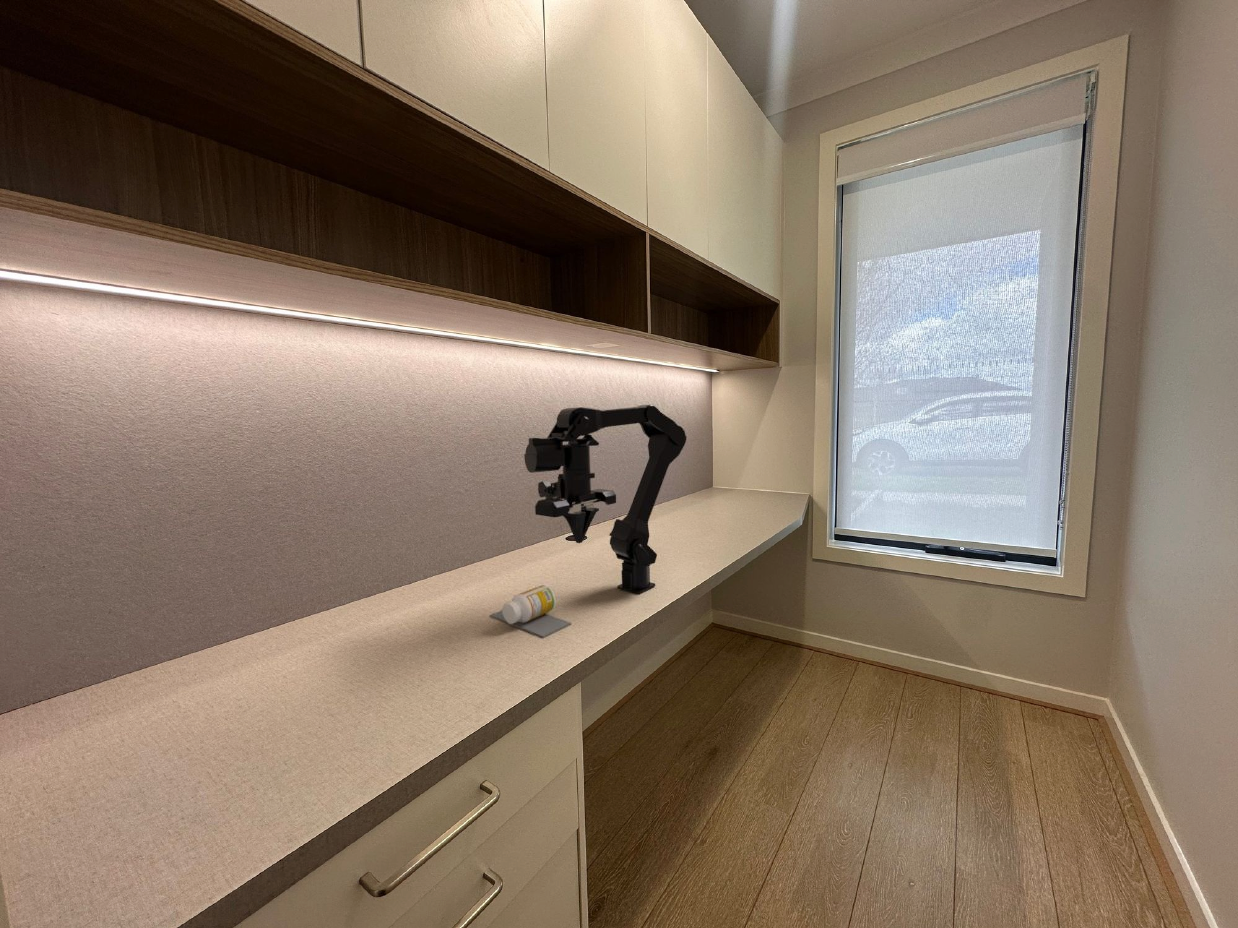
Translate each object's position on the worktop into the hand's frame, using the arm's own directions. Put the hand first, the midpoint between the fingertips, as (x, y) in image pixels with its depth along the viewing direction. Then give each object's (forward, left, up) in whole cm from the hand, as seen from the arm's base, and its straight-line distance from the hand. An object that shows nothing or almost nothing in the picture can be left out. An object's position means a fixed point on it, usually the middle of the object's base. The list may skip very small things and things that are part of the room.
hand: (579, 542), depth 101 cm
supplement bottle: (+7, -2, -10) cm, 13 cm away
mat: (+12, -2, -13) cm, 18 cm away
